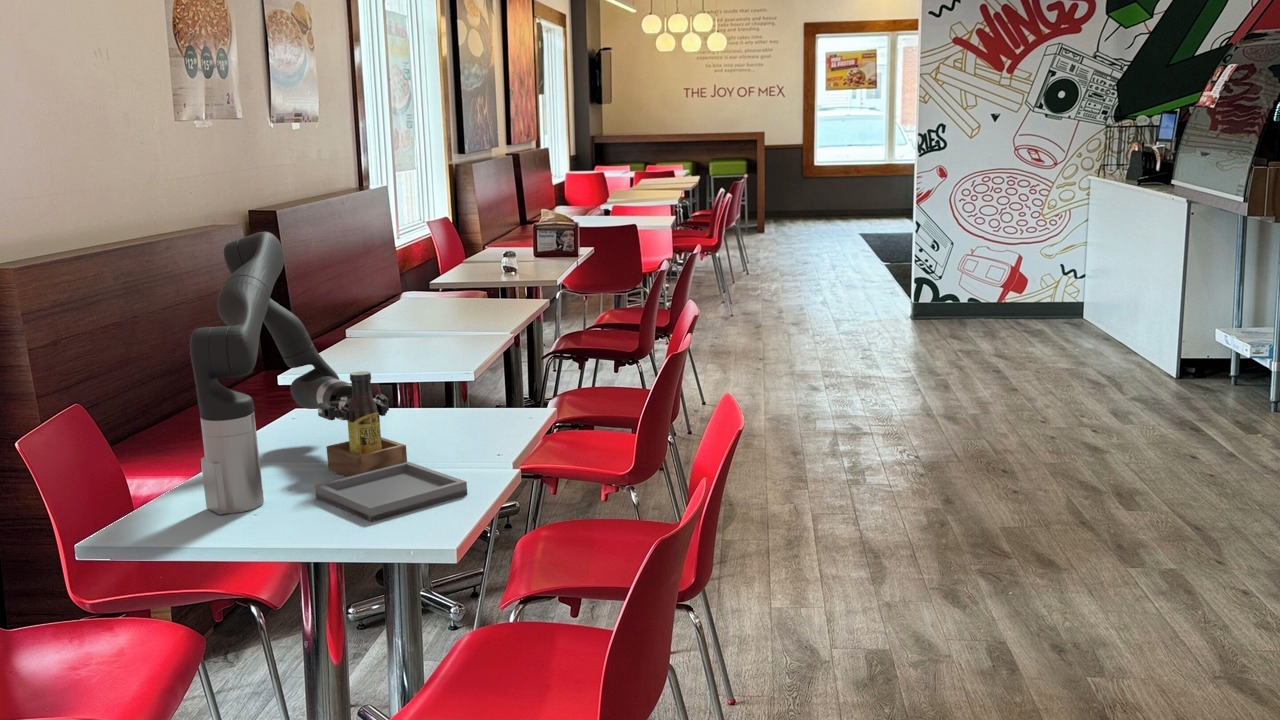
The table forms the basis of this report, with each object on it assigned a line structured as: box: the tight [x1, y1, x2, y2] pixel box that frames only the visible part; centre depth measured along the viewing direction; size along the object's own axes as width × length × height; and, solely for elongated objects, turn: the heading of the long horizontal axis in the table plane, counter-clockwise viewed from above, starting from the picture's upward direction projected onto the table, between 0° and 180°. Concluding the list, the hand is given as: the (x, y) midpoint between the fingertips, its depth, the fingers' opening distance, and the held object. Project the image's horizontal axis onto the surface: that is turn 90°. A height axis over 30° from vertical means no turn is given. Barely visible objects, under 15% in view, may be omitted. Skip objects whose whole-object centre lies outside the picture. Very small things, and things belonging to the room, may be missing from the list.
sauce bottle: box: [347, 370, 382, 455], centre depth 226 cm, size 7×6×20 cm
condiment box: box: [325, 436, 408, 478], centre depth 227 cm, size 11×12×5 cm
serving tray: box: [314, 461, 468, 523], centre depth 210 cm, size 20×20×2 cm
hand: (367, 413), depth 224 cm, fingers closed on sauce bottle, 6 cm apart
